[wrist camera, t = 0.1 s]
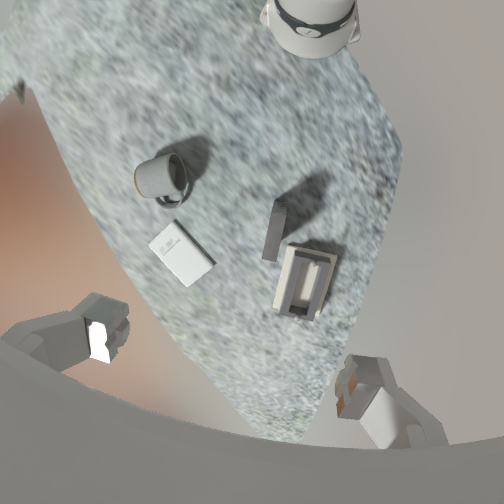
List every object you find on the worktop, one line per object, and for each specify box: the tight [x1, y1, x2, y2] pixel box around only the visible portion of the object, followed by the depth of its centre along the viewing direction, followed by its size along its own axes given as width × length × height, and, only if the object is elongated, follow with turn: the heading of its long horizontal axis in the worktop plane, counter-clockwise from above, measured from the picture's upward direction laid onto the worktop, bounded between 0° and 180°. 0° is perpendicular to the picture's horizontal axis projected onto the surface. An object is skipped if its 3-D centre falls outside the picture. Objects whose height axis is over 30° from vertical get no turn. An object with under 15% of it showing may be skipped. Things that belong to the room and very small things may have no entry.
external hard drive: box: [148, 220, 214, 288], centre depth 62 cm, size 2×8×12 cm
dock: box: [273, 244, 337, 321], centre depth 59 cm, size 14×10×5 cm
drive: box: [262, 200, 287, 262], centre depth 53 cm, size 8×2×10 cm, turn 170°
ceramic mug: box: [134, 153, 187, 209], centre depth 54 cm, size 11×8×8 cm
